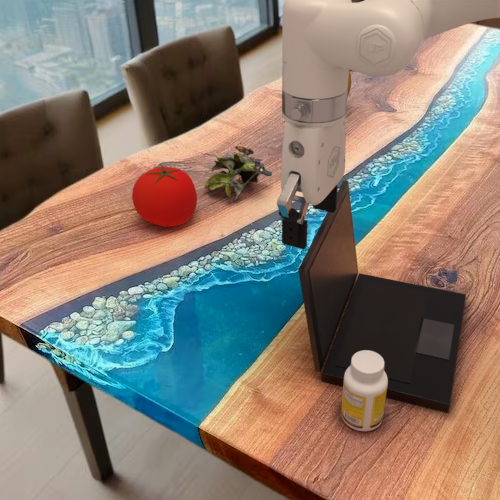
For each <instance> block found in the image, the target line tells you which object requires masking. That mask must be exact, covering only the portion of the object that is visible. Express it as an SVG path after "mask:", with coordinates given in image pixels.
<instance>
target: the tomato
mask: <svg viewBox="0 0 500 500" xmlns="http://www.w3.org/2000/svg"><path fill="white" fill-rule="evenodd" d="M131 199H132V204H133V207H134V208H135V209H134V210H136V211H135V212H136V213H137V214H138V215H139V217H141V218H142V219H143V220H144V221H146V222H148V223H150V224H153V225H155V226H159V227H165V228H167V227H169V228H171V227H177V226H180V225H183V224H185V223H186V222H188V221H189V220H190V219H191V218H192V217H193V215H194V214H195V211H196V208H197V203H198V194H197V190H196V187H195V184H194V181H193V178H191V176H190V175H189V174H188V173H187V172H186V171H183V170H182V169H181V168H177V167H171V166H163V165H161V166H158V167H154V168H151V169H150V170H148V171H146V172H144V173H142V174H141V175H140V176H139V177H138V178H137V179H136V181H135V182H134V184H133V187H132V193H131Z"/></svg>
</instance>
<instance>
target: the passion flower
mask: <svg viewBox="0 0 500 500" xmlns="http://www.w3.org/2000/svg"><path fill="white" fill-rule="evenodd" d="M234 148H235V150H237V151H238V152H236V151H233V152H232V153H228V152H226V154H224V156H222V157H221V156H219V155H217V156H216V159H214V161H213V162H214V163H215V164H214V165H213V166H212V167H211V172H212V173H213V172H214V171H217V170H221V169H225V170H228V172H227V171H225V170H221V171H219V172H216V173H214V174H212V175H211V176H210V177H209V178H208V179H207V181H206V182H205V183H204V188H205V189H206V190H207V189H208V190H209V192H211V191H214V190H217V189H219V188H221V187H224V186H225V188H224V189H225V194H226V196H227V197H228V199H231V197H232V195H231V190H232V187H234V192H235V199H234V201H233V203H236V201H237V199H239V195H240V194H241V192H242V191H243V190H245V188H246V185H248V184H249V183H256V184H257V183H258V182H259V179H258V177H259V176H260V175H262V176H266V177H272V176H273V172H271V171H269V170H267V169H266V167H265V165H264V163H262V162H261V161H262V159H261V158H255V156H251V155H254V153H255V152H254V150H253V149H252V148H247V147H246V146H244V145H243V146H242V145H241V146H239V145H238V146H237V145H235V146H234ZM242 153H243V154H242ZM249 156H250V157H249ZM236 176H238V181H237V180H236V178H235V177H236ZM241 181H242V184H241Z"/></svg>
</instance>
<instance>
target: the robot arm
mask: <svg viewBox="0 0 500 500" xmlns="http://www.w3.org/2000/svg"><path fill="white" fill-rule="evenodd" d="M281 19H282V20H281V21H282V24H281V25H282V27H281V28H282V29H281V30H282V37H281V39H282V40H281V41H282V45H281V46H282V47H281V50H282V54H281V55H282V57H281V58H282V59H281V61H282V62H281V63H282V65H281V68H282V69H281V71H282V72H281V75H282V76H281V80H282V81H281V117H282V119H284V121H285V123H284V128H283V129H284V130H283V139H282V149H281V164H280V165H281V166H280V191H281V192H280V193H279V195H278V198H277V200H276V207H277V209H278V215H279V217H280V220H281V243H282V244H283V245H286V246H289V247H292V248H296V249H301V250H305V249H306V247H307V246H308V220H306V215H307V213H308V209H309V206H310V205H312V207H313V209H314V210H315V209H316V210H320V211H324V212H326V213H327V212H332V213H334V212H335V210H336V204H337V192H338V189H339V188H338V187H339V186H338V184H339V183H340V181H341V180H342V178H343V177H344V174H345V171H346V143H347V142H346V140H347V139H346V133H347V132H346V130H347V129H346V118H347V106H348V105H347V104H348V97H347V92H348V76H349V71H353V72H356V73H359V74H362V75H366V76H372V77H388V76H389V77H391V76H393V75H396V74H398V73H400V72H401V71H403V70H404V69H405V68H406V67H408V65H409V64H410V63H411V62H412V60H413V59H414V57H415V55H416V53H417V52H418V50H419V48H420V46H421V45H422V43H423V41H425V40H428V39H430V38H433V37H435V36H438V35H440V34H443V33H446V32H449V31H452V30H454V29H456V28H460V27H462V26H466V25H469V24H473V23H476V22H479V21H485V20H490V19H500V0H362V1H359V2H358V1H357V2H352V0H284V1H283V3H282V17H281ZM297 192H298V193H302V196H300V195H296V193H297ZM293 202H296V203H299V204H300V208H299V211H298V210H297V209H296V208H294V207H293V206H294V205H293Z"/></svg>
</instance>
